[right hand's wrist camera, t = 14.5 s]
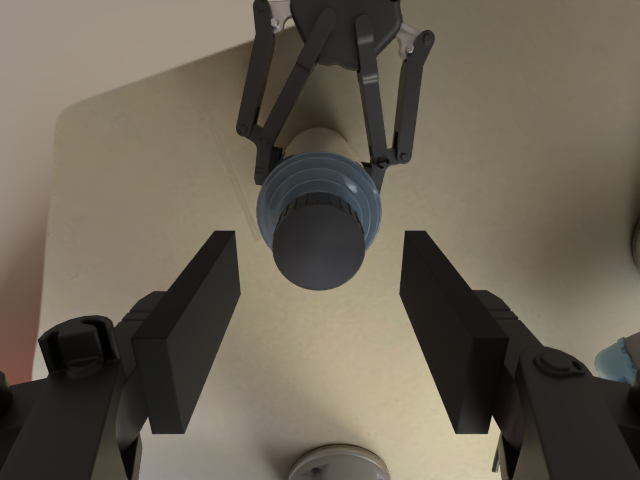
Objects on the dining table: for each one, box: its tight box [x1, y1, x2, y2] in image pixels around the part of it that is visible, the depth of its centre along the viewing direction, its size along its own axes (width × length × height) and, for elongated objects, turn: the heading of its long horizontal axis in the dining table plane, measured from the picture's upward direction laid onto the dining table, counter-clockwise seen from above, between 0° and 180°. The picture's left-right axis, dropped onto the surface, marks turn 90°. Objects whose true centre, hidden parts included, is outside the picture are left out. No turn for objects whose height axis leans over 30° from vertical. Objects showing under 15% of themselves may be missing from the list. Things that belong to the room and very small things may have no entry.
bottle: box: [256, 127, 382, 251], centre depth 27 cm, size 7×7×23 cm
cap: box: [272, 191, 366, 291], centre depth 17 cm, size 4×4×2 cm
